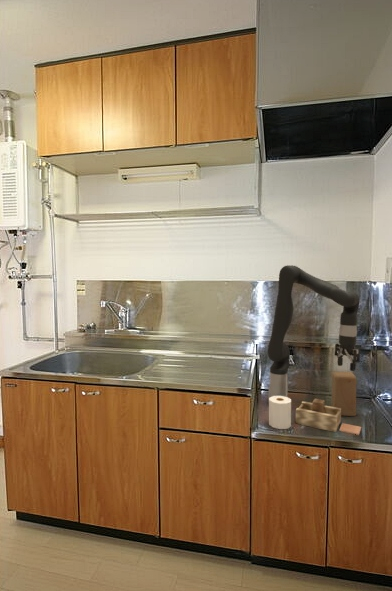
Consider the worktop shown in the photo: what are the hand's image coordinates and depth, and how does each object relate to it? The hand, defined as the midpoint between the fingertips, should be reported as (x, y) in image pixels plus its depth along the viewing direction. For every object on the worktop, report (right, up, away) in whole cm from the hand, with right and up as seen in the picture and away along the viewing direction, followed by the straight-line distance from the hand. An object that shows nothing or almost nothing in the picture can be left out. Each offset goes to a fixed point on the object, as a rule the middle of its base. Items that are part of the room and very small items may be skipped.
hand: (346, 368), depth 164 cm
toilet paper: (-32, -26, -1) cm, 41 cm away
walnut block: (-13, -23, 0) cm, 27 cm away
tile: (-1, -26, -7) cm, 27 cm away
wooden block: (+4, -25, +12) cm, 28 cm away
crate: (-13, -26, 0) cm, 29 cm away
